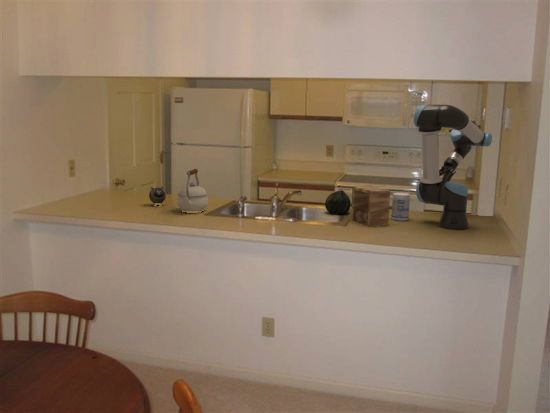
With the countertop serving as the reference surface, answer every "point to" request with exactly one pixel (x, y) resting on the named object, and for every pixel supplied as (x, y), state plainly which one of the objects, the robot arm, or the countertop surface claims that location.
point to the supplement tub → (400, 206)
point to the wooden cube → (370, 205)
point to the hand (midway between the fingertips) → (429, 190)
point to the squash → (338, 202)
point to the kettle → (192, 195)
